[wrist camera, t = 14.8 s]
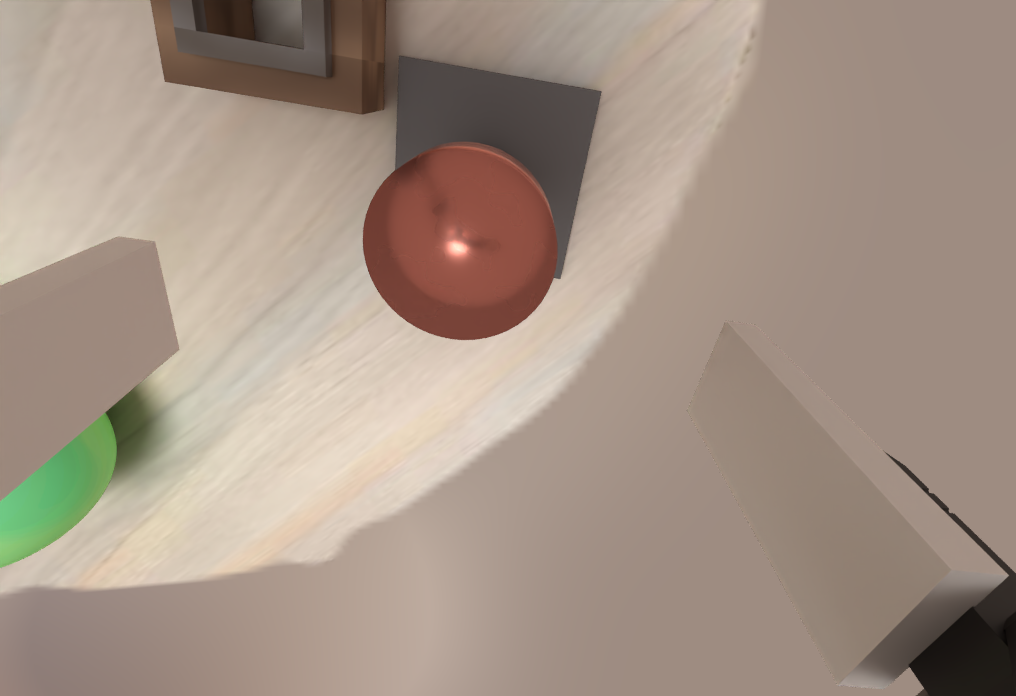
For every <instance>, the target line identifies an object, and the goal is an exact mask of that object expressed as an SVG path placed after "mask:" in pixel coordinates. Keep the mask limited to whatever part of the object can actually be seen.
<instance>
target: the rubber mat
mask: <svg viewBox="0 0 1016 696" xmlns="http://www.w3.org/2000/svg"><path fill="white" fill-rule="evenodd" d="M600 96H601V91H596V90H591V89H585V88H579V87H574V86H568V85H562V84H557V83H551V82H545V81H540V80H534V79H528V78H523V77H517V76H511V75H506V74H500V73H494V72H489V71H483V70H477V69H472V68H466V67H460V66H455V65H449V64H443V63H438V62H432V61H427V60H421V59H415V58H410V57H404V56H399V76H398V105H397V135H396V165H395V170H397V169H398V168H399V167H401V166H402V165H403V164H405V163H406V162H408V161H409V160H411V159H412V158H414V157H415V156H417V155H418V154H420V153H422V152H424V151H426V150H428V149H430V148H433V147H435V146H438V145H441V144H446V143H451V142H474V143H480V144H485V145H489V146H492V147H496V148H499V149H501V150H503V151H504V152H506V153H507V154H509V155H511V156H512V157H514V158H515V159H516V160H518V161H519V162H520V163H522V164H523V165H524V166H525V167H526V168H527V169H528V170H529V171H530V172H531V173H532V175H533V176H534V177H535V179H536V180H537V181H538V182H539V184H540V186H541V188H542V189H543V191H544V193H545V195H546V198H547V200H548V202H549V206H550V209H551V213H552V217H553V222H554V226H555V230H556V237H557V244H558V245H557V264H556V270H555V273H554V277H553V278H558V279H560V278H561V273H562V269H563V264H564V260H565V255H566V251H567V246H568V241H569V237H570V232H571V228H572V223H573V219H574V214H575V210H576V205H577V201H578V196H579V191H580V187H581V182H582V178H583V173H584V169H585V164H586V160H587V155H588V150H589V146H590V141H591V137H592V132H593V128H594V123H595V119H596V114H597V110H598V105H599V100H600Z"/></svg>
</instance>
